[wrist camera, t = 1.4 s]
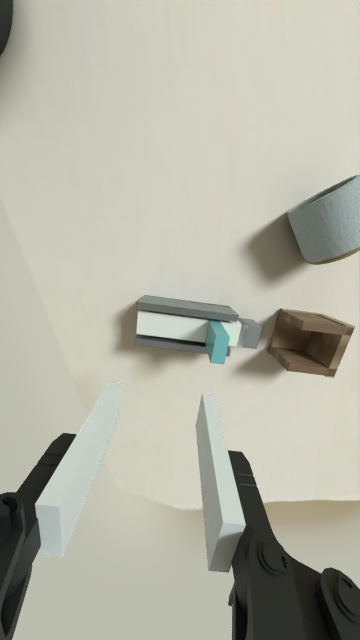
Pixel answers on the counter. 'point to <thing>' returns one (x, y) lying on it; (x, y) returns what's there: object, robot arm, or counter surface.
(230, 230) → the counter surface
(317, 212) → the ceramic mug
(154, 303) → the channel
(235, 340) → the rod
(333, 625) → the robot arm
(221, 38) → the counter surface
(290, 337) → the socket
